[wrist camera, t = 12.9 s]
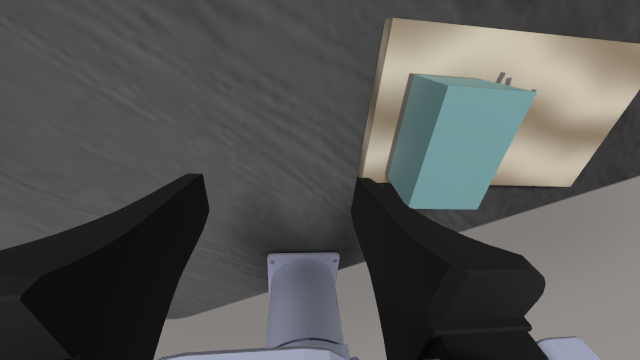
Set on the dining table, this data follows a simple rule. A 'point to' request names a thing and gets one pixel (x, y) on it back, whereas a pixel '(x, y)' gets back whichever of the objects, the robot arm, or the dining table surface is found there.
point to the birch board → (517, 71)
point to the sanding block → (452, 139)
